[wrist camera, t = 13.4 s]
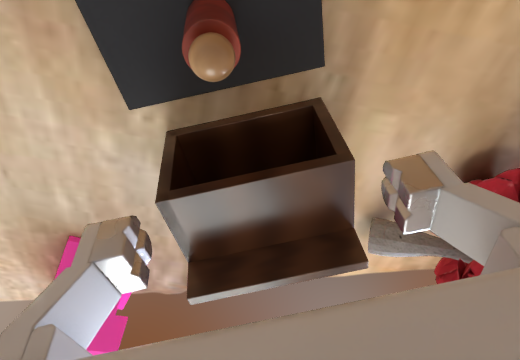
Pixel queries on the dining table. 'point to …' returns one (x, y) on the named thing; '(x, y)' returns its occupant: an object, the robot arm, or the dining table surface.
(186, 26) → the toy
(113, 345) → the bracket
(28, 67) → the dining table surface
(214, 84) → the felt mat
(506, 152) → the dining table surface
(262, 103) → the dining table surface
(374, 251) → the bouquet
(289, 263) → the open-top box
